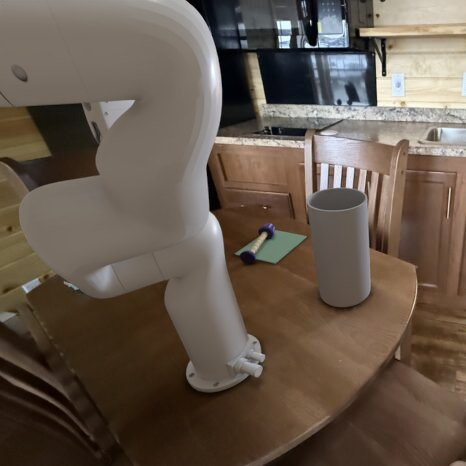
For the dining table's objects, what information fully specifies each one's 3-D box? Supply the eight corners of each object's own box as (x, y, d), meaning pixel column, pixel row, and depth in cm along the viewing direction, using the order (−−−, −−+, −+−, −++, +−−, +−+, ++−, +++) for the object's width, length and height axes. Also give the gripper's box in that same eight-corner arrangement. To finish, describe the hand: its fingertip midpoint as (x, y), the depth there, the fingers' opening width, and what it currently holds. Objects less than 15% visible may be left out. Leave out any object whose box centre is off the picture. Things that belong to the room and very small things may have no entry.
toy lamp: (235, 251, 85) (261, 220, 99) (240, 265, 88) (265, 232, 102) (252, 252, 85) (276, 220, 99) (257, 265, 88) (280, 232, 102)
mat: (306, 237, 101) (306, 236, 101) (274, 264, 88) (274, 263, 87) (270, 230, 105) (270, 229, 104) (234, 255, 91) (234, 253, 91)
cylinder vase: (309, 299, 75) (293, 203, 63) (339, 271, 85) (330, 184, 73) (353, 315, 71) (345, 216, 58) (379, 284, 81) (377, 193, 68)
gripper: (71, 80, 47) (122, 193, 56) (164, 75, 60) (194, 169, 69) (39, 78, 49) (94, 188, 58) (135, 74, 62) (168, 165, 71)
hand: (148, 177), depth 63 cm, fingers closed
